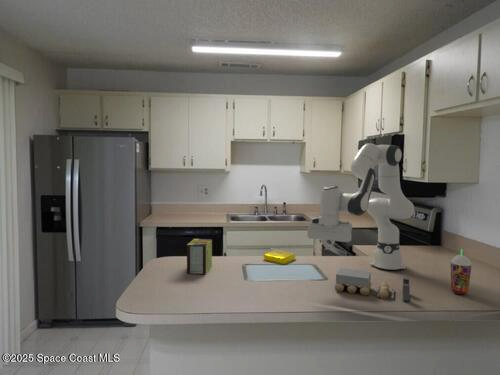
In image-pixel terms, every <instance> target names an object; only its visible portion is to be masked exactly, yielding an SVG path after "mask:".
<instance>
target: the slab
mask: <svg viewBox="0 0 500 375" xmlns="http://www.w3.org/2000/svg"><path fill="white" fill-rule="evenodd" d="M371 275H372V271H370V270H365V269H356V268H347V267H340V268H339V269H338V271H337V272H336V274H335V283H336V284H337V283H340V284H346V285H347V286H349V285H354V286H358V287H360V288H361V287H369V283H370V282H371V279H372V278H371V277H372V276H371Z"/></svg>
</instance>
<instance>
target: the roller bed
mask: <svg viewBox="0 0 500 375" xmlns="http://www.w3.org/2000/svg"><path fill="white" fill-rule="evenodd" d="M346 285H347V284H340V283H336V284H335V286H334V290H335V291H336V292H337V293H342V292H343V291H344V289H345V287H346ZM358 287H359V286H354V285H347V288H346V289H347V292H348V293H349V294H350V295H355V294H356V293H357V292H356V291H357V290H358ZM371 287H372V281H370V283H369V287H361V286H360V289H359V292H360V295H361V296H363V297H366V296H368V295H369V294H370V290H371ZM379 291H380V286H378V289H377V293H376V298H377V299H379V298H380V297H379ZM394 297H395V289H394V288H392V290H391V301H394V299H395V298H394Z"/></svg>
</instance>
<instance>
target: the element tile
mask: <svg viewBox="0 0 500 375" xmlns="http://www.w3.org/2000/svg"><path fill="white" fill-rule="evenodd" d="M263 261H265V262H271V263H275V264H279V265H287V264H289V263H291V262H294V261H296V253H295V252H290V251H283V250H279V249H275V250H272V251H268V252H266V253H264V254H263Z"/></svg>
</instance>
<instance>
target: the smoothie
mask: <svg viewBox="0 0 500 375" xmlns="http://www.w3.org/2000/svg"><path fill="white" fill-rule="evenodd" d="M463 250H464V249H462V248H461V249H460V254H457V255H454V257H452V259H451V260H450V261H449V262H450V285H451V286H450V289H452V292H453V293H455V294H459V295H466V294H467V293H468V292H469V289H470V282H471V281H470V280H471V279H470V278H471V273H472V265H473V264H472V262H471V260H470V259H469V257H467V255H463Z"/></svg>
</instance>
